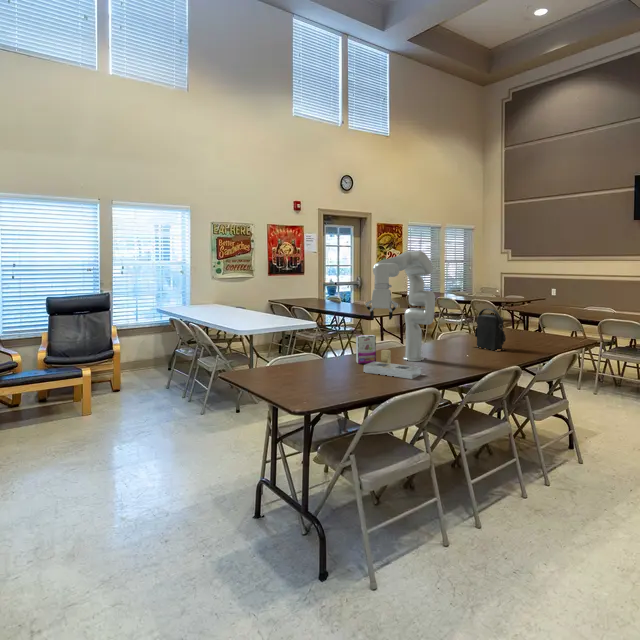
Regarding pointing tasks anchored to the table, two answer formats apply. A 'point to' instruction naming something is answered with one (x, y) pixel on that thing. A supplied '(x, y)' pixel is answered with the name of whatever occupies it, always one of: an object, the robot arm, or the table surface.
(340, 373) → the table surface
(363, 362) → the candy bar box
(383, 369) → the white holder tray
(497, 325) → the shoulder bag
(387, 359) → the peg
